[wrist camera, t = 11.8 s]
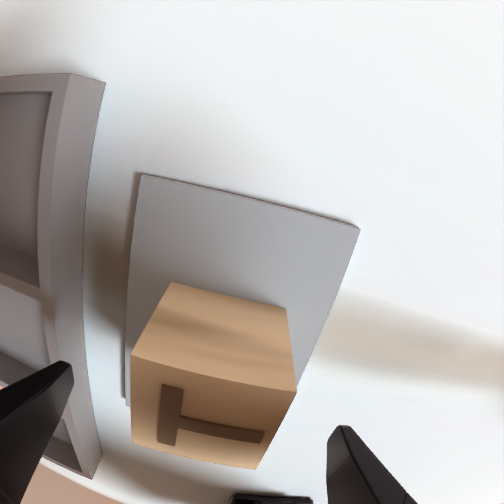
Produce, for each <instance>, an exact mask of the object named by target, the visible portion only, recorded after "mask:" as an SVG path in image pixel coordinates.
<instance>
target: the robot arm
mask: <svg viewBox="0 0 504 504" xmlns="http://www.w3.org/2000/svg"><path fill="white" fill-rule="evenodd" d="M73 386H74V375H73V368H72V365H71V364H70V363H68V362H65V361H63V360H59V361H57V362H55V363H53V364H51V365H49V366H47V367H45V368H43V369H41V370H39V371H37V372H35V373H33V374H31V375H29V376H27V377H25V378H23V379H21V380H19V381H17V382H15V383H13V384H11V385H9V386H7V387H4V388H2V389H0V504H20V503H21V500H22V498H23V496H24V493H25V491H26V489H27V487H28V485H29V482H30V480H31V478H32V475H33V474H34V471H35V469H36V467H37V465H38V463H39V461H40V459H41V457H42V455H43V453H44V451H45V449H46V447H47V445H48V443H49V441H50V439H51V437H52V435H53V433H54V431H55V429H56V428H57V426H58V424H59V422H60V419H61V417H62V414H63V412H64V409H65V406H66V404H67V401H68V399H69V396H70V394H71V391H72V389H73ZM326 483H327V495H328V504H418V503H417V502H416V501H415V500H414V499H413V498H412V497H411V496H410V495H409V494H408V493H406V490H405V489H404V488H403V487H402V486H401V485H400V484H399V482H398V481H397V480H396V479H395V478H394V477H393V476H392V474H391V473H390V472H389V471H388V470H387V469H386V468H385V466H384V465H383V464H382V463H381V462H380V461H379V459H378V458H377V457H376V456H375V455H374V454H373V452H372V451H371V450H370V449H369V448H368V447H367V445H366V444H365V443H364V442H363V441H362V440H361V438H360V437H359V436H358V435H357V434H356V432H355V431H354V430H353V429H352V428H351V427H350V426H347V425H339V426H337V427H336V429H335V430H334V431H333V433H332V434H331V436H330V437H329V439H328V442H327V469H326ZM228 504H313V500H311V499H287V498H271V497H259V496H250V495H241V494H235V495H233V496H232V497H231V499H230V501H229V502H228Z"/></svg>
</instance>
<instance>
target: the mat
mask: <svg viewBox="0 0 504 504" xmlns="http://www.w3.org/2000/svg"><path fill="white" fill-rule="evenodd" d="M359 233H360V229H359V228H358V227H356V226H353V225H350V224H346V223H343V222H339V221H336V220H332V219H329V218H325V217H321V216H318V215H314V214H310V213H307V212H303V211H299V210H296V209H292V208H288V207H284V206H280V205H276V204H273V203H269V202H265V201H261V200H257V199H253V198H249V197H244V196H240V195H236V194H232V193H228V192H224V191H219V190H215V189H211V188H206V187H202V186H197V185H193V184H188V183H184V182H179V181H175V180H170V179H165V178H160V177H155V176H151V175H146V174H144V175H141V178H140V184H139V190H138V197H137V204H136V211H135V218H134V226H133V234H132V243H131V253H130V263H129V275H128V289H127V305H126V329H125V395H126V406H129V407H131V405H130V354H131V352H132V350H133V349H134V347H135V345H136V343H137V341H138V339H139V338H140V336H141V334H142V332H143V330H144V329H145V327H146V325H147V323H148V321H149V320H150V318H151V316H152V314H153V313H154V311H155V309H156V307H157V306H158V304H159V302H160V300H161V299H162V297H163V295H164V293H165V292H166V290H167V288H168V287H169V285H170V283H171V282H174V283H178V284H182V285H186V286H190V287H194V288H198V289H202V290H206V291H210V292H215V293H219V294H223V295H227V296H232V297H236V298H240V299H244V300H249V301H253V302H258V303H262V304H267V305H271V306H276V307H281V308H285V309H286V311H287V318H288V326H289V333H290V341H291V348H292V356H293V364H294V372H295V380H296V387H297V384H298V382H299V380H300V378H301V376H302V374H303V372H304V370H305V367H306V365H307V363H308V361H309V359H310V357H311V354H312V352H313V350H314V348H315V345H316V343H317V341H318V338H319V336H320V334H321V332H322V329H323V327H324V324H325V322H326V320H327V317H328V315H329V313H330V310H331V308H332V305H333V303H334V300H335V298H336V295H337V293H338V290H339V288H340V285H341V282H342V280H343V277H344V275H345V272H346V269H347V267H348V264H349V261H350V258H351V256H352V253H353V250H354V247H355V244H356V242H357V239H358V236H359Z"/></svg>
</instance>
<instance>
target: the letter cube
mask: <svg viewBox="0 0 504 504" xmlns="http://www.w3.org/2000/svg"><path fill="white" fill-rule="evenodd" d="M296 393H297V388H296V380H295V372H294V364H293V356H292V348H291V341H290V333H289V326H288V318H287V311H286V309H285V308H281V307H276V306H271V305H267V304H262V303H258V302H253V301H249V300H244V299H240V298H236V297H232V296H227V295H223V294H219V293H215V292H210V291H206V290H202V289H198V288H194V287H190V286H186V285H182V284H178V283H174V282H171V283H170V285H169V287H168V288H167V290H166V292H165V293H164V295H163V297H162V299H161V300H160V302H159V304H158V306H157V307H156V309H155V311H154V313H153V314H152V316H151V318H150V320H149V321H148V323H147V325H146V327H145V329H144V330H143V332H142V334H141V336H140V338H139V339H138V341H137V343H136V345H135V347H134V349H133V350H132V352H131V354H130V405H131V429H132V443H135V444H138V445H141V446H144V447H148V448H151V449H155V450H158V451H162V452H166V453H170V454H174V455H178V456H182V457H186V458H190V459H195V460H200V461H205V462H210V463H215V464H221V465H226V466H233V467H239V468H246V469H254V470H256V468H257V466H258V464H259V463H260V461H261V459H262V457H263V456H264V454H265V452H266V450H267V448H268V447H269V445H270V443H271V441H272V439H273V438H274V436H275V434H276V432H277V430H278V428H279V426H280V425H281V423H282V421H283V419H284V417H285V415H286V413H287V411H288V409H289V407H290V405H291V403H292V401H293V399H294V397H295V395H296Z"/></svg>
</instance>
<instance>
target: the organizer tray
mask: <svg viewBox="0 0 504 504" xmlns="http://www.w3.org/2000/svg"><path fill="white" fill-rule="evenodd" d="M105 85H106V83H104V82H100V81H97V80H94V79H90V78H86V77H83V76H79V75H75V74H71V73H56V74H30V75H16V76H5V77H0V386H2V387H7V386H9V385H11V384H13V383H15V382H17V381H19V380H21V379H23V378H25V377H27V376H29V375H31V374H33V373H35V372H37V371H39V370H41V369H43V368H45V367H47V366H49V365H51V364H53V363H55V362H57V361H59V360H63V361H65V362H68V363H70V364H71V365H72V368H73V375H74V386H73V389H72V391H71V394H70V396H69V399H68V401H67V404H66V406H65V409H64V412H63V414H62V417H61V419H60V422H59V424H58V426H57V428H56V429H55V431H54V433H53V435H52V437H51V439H50V441H49V443H48V445H47V447H46V449H45V451H44V453H43V455H42V457H43V458H45V459H47V460H49V461H51V462H53V463H55V464H57V465H60V466H62V467H64V468H66V469H68V470H70V471H73V472H75V473H77V474H79V475H82V476H84V477H87V478H89V479H91V480H92V479H93V476H94V474H95V471H96V469H97V466H98V464H99V462H100V459H101V457H102V452H101V448H100V443H99V438H98V434H97V429H96V423H95V418H94V412H93V406H92V400H91V394H90V387H89V379H88V371H87V362H86V351H85V339H84V324H83V300H82V257H83V232H84V217H85V205H86V194H87V185H88V177H89V169H90V162H91V155H92V148H93V142H94V137H95V131H96V126H97V121H98V116H99V111H100V106H101V102H102V97H103V93H104V89H105Z"/></svg>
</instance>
